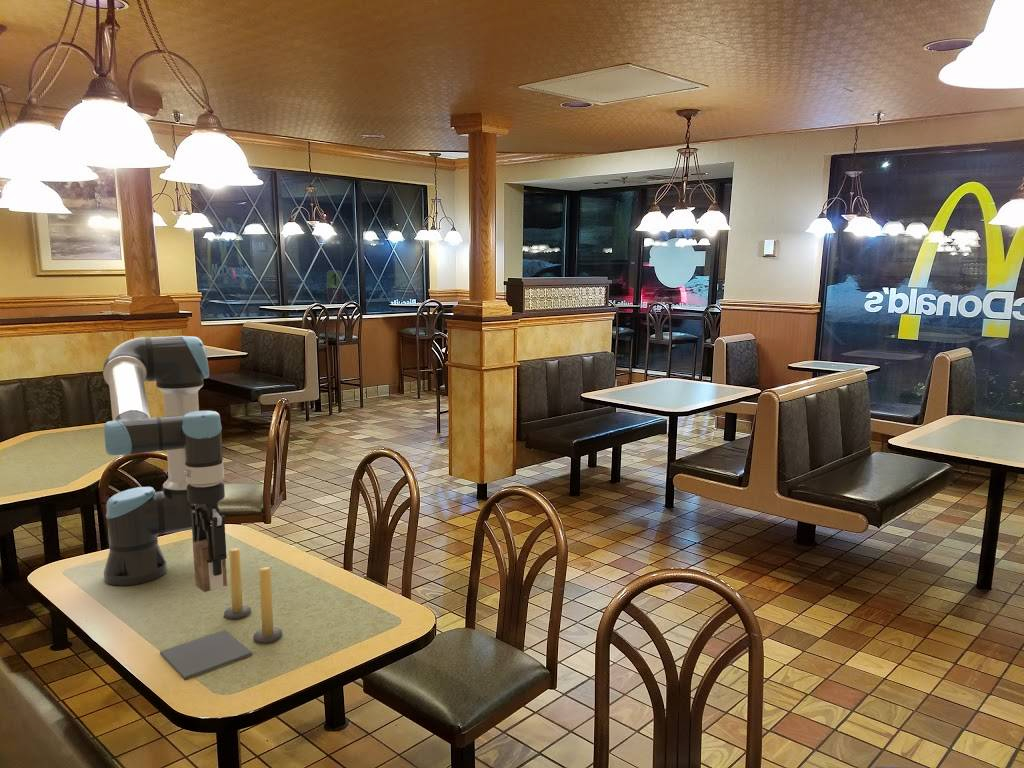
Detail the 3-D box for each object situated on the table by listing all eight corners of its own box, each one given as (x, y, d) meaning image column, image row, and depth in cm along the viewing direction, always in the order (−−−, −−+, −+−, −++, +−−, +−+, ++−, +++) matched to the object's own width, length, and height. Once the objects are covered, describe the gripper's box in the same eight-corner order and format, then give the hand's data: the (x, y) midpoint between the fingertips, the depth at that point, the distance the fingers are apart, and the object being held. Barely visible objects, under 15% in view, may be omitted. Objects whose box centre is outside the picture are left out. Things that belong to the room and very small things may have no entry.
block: (195, 585, 158) (192, 542, 156) (217, 579, 161) (215, 536, 160) (204, 592, 154) (201, 548, 153) (227, 585, 158) (224, 542, 156)
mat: (160, 654, 152) (160, 651, 152) (225, 632, 162) (224, 629, 162) (184, 679, 142) (184, 677, 142) (252, 654, 152) (252, 652, 152)
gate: (220, 613, 171) (216, 549, 169) (244, 605, 175) (241, 543, 173) (261, 646, 156) (257, 576, 153) (286, 637, 160) (283, 569, 158)
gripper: (172, 477, 158) (178, 577, 161) (204, 494, 146) (210, 602, 149) (206, 471, 163) (211, 568, 167) (240, 487, 151) (245, 591, 154)
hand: (211, 583), depth 158 cm, fingers closed on block, 5 cm apart
